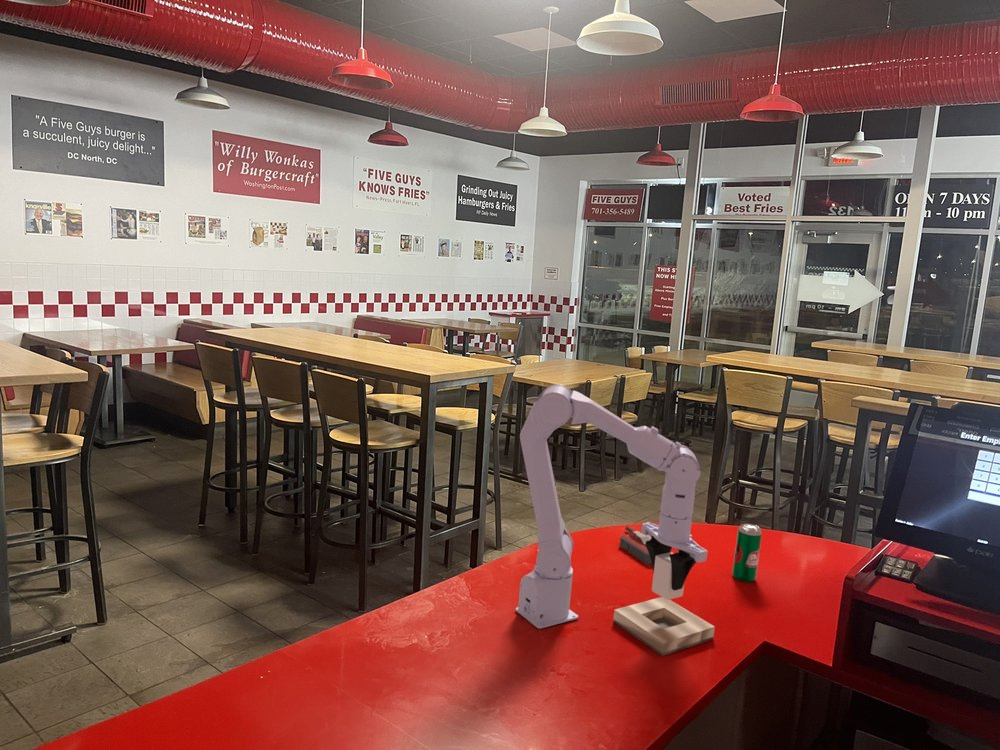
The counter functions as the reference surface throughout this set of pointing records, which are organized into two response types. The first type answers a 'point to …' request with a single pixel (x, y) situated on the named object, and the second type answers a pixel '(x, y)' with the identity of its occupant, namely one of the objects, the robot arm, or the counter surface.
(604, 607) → the counter surface
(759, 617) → the counter surface
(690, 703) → the counter surface
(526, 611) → the robot arm
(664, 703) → the counter surface
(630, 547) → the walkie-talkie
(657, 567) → the white rectangular block
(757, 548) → the soda can
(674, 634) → the holder block
